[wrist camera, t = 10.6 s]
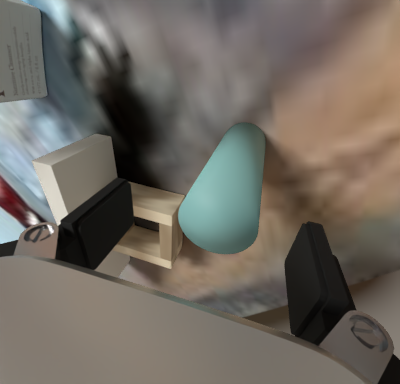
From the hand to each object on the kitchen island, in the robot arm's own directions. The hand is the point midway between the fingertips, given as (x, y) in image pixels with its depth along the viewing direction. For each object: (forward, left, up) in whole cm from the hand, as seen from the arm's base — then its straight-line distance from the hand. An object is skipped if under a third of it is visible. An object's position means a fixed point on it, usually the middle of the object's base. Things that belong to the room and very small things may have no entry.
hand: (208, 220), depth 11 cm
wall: (+15, +12, -11) cm, 23 cm away
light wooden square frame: (+9, +11, -11) cm, 19 cm away
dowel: (-1, -1, -11) cm, 11 cm away
